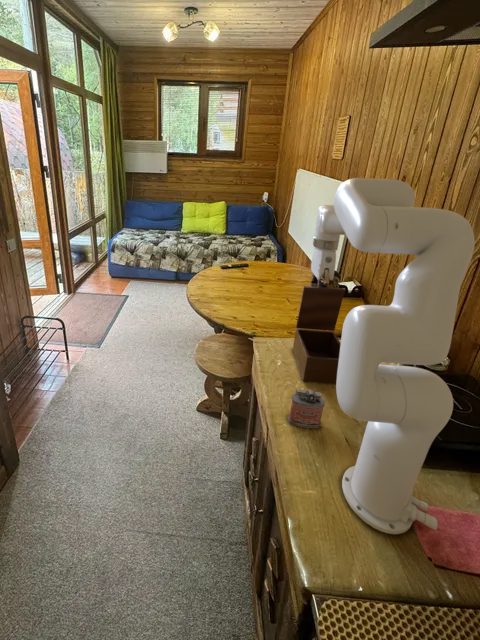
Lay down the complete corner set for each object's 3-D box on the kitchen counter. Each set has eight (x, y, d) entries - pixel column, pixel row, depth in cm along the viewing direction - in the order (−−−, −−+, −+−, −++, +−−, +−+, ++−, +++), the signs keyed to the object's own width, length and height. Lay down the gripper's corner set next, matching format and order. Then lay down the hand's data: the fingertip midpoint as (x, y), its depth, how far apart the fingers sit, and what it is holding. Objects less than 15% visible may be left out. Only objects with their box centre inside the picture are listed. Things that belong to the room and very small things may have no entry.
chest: (345, 385, 93) (351, 361, 90) (302, 381, 94) (307, 357, 91) (329, 352, 108) (333, 331, 105) (292, 349, 109) (296, 328, 106)
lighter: (318, 418, 81) (324, 388, 78) (321, 429, 78) (328, 398, 75) (287, 414, 82) (292, 384, 79) (289, 425, 79) (294, 394, 76)
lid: (345, 289, 97) (339, 281, 102) (304, 287, 99) (300, 278, 104) (334, 331, 104) (329, 321, 109) (296, 328, 106) (293, 318, 110)
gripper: (347, 252, 91) (336, 307, 97) (329, 237, 107) (320, 285, 113) (321, 250, 92) (312, 305, 98) (307, 236, 108) (300, 284, 114)
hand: (317, 294), depth 105 cm, fingers open, 4 cm apart
